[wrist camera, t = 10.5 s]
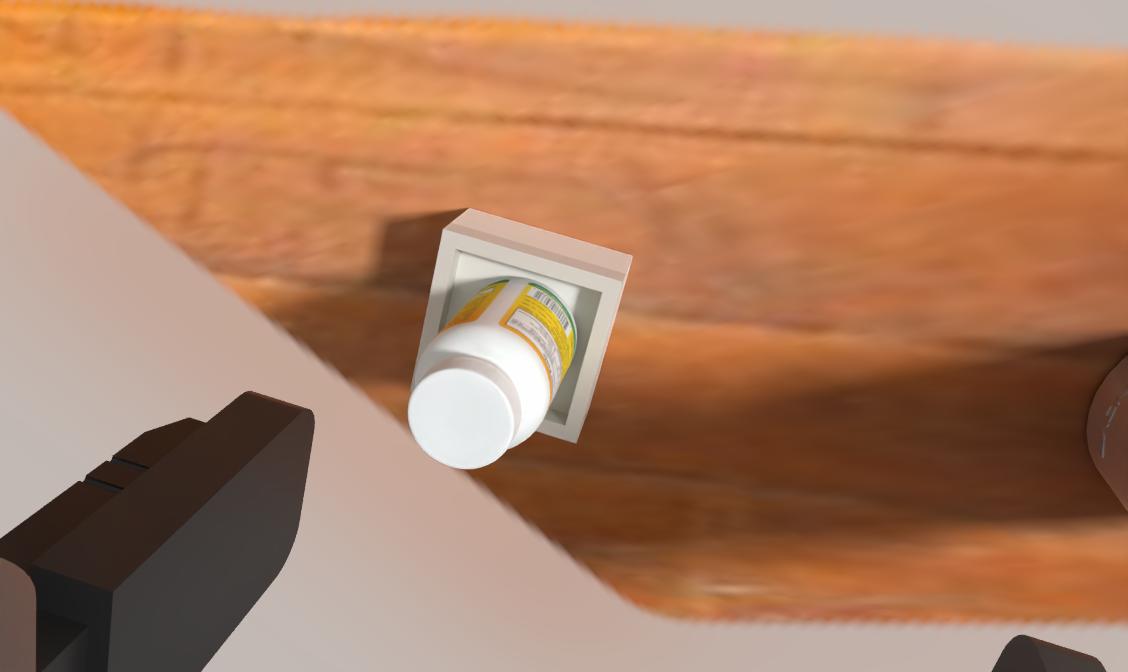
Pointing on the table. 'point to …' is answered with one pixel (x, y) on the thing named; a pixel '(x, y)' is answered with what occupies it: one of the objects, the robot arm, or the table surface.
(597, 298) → the grey open box
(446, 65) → the table surface
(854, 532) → the table surface
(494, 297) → the supplement bottle
